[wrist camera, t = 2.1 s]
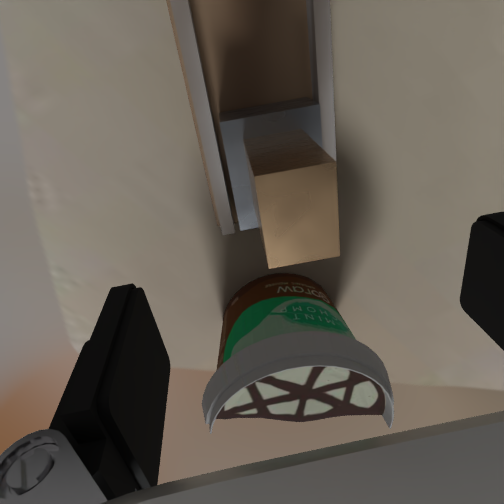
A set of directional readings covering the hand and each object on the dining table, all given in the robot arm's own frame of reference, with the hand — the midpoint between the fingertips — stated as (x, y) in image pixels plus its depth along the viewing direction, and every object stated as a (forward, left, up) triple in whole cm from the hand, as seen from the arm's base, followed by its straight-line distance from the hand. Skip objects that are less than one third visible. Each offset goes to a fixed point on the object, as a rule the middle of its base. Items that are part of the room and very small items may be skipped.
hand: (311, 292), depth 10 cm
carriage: (-1, 0, -13) cm, 13 cm away
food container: (0, +11, -15) cm, 19 cm away
